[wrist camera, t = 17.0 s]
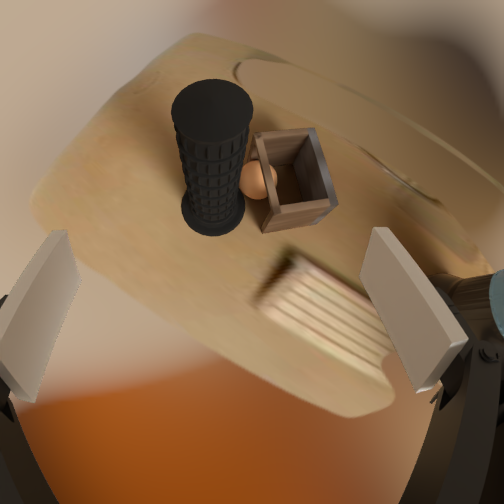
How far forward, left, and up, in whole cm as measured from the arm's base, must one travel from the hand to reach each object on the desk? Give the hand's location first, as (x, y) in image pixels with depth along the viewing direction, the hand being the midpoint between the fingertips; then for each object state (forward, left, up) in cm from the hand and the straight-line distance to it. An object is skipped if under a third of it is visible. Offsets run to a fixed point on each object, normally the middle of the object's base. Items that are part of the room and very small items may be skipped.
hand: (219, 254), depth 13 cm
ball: (+16, -9, -32) cm, 37 cm away
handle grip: (+14, -2, -35) cm, 38 cm away
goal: (+14, -13, -35) cm, 40 cm away
